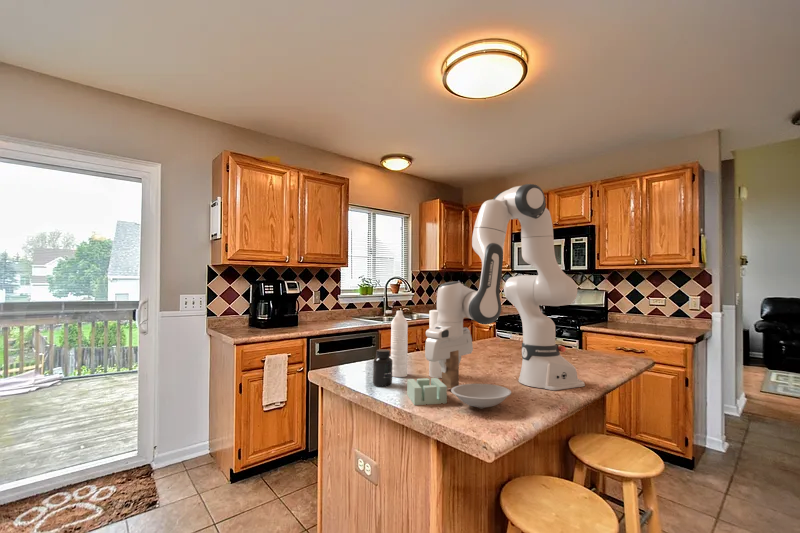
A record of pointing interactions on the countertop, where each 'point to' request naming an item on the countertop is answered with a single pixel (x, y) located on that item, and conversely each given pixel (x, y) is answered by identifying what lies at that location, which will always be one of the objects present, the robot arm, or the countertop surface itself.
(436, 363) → the cylindrical container
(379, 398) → the countertop surface
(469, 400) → the dish
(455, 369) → the peg
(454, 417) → the countertop surface
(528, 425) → the countertop surface
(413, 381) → the socket
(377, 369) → the supplement bottle
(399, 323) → the water bottle
